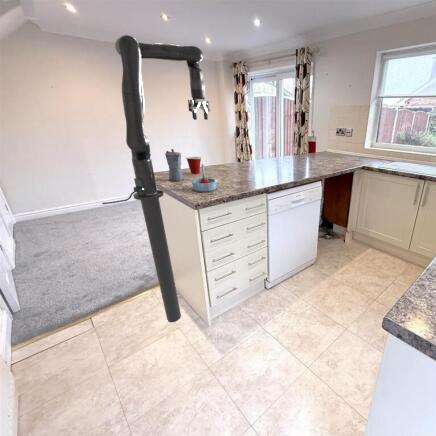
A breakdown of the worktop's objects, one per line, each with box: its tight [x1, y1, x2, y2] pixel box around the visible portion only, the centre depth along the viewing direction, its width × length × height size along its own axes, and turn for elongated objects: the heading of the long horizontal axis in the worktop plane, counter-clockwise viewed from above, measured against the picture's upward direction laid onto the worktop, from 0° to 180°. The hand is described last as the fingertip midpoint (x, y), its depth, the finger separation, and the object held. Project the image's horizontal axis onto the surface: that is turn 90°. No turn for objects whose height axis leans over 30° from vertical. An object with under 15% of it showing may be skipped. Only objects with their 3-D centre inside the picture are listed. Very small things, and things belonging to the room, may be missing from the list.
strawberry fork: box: [200, 163, 209, 184], centre depth 144 cm, size 5×5×14 cm
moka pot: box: [164, 148, 184, 182], centre depth 160 cm, size 10×15×20 cm, turn 58°
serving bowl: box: [191, 177, 218, 193], centre depth 146 cm, size 14×14×5 cm
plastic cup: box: [185, 156, 202, 175], centre depth 179 cm, size 11×11×12 cm
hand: (200, 119), depth 146 cm, fingers open, 8 cm apart
